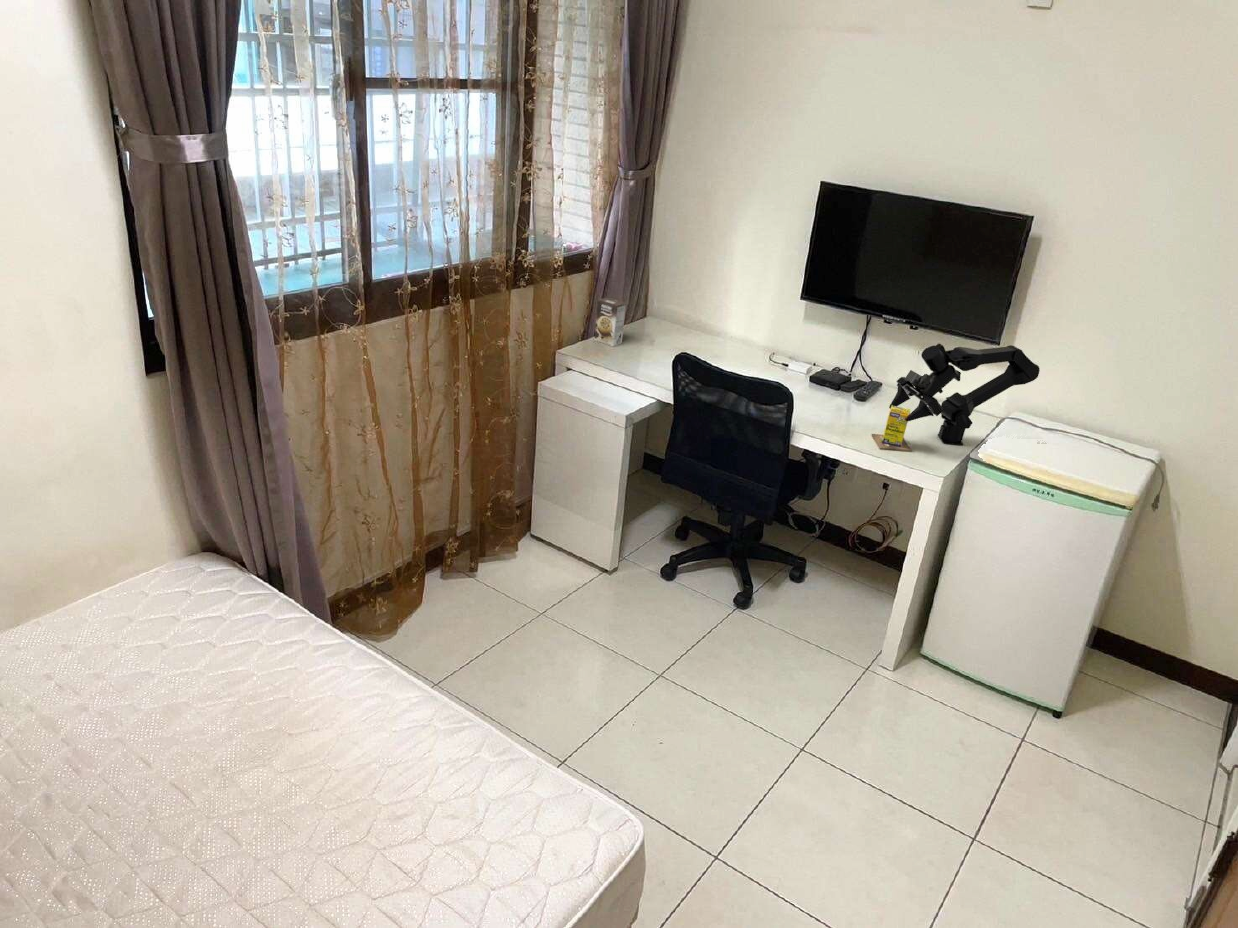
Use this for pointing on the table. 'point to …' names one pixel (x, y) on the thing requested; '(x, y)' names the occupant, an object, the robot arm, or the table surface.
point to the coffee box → (610, 321)
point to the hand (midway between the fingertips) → (897, 414)
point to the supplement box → (895, 426)
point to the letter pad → (885, 446)
